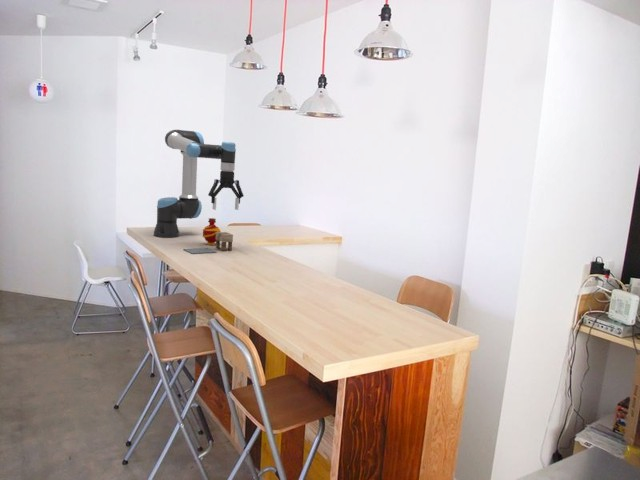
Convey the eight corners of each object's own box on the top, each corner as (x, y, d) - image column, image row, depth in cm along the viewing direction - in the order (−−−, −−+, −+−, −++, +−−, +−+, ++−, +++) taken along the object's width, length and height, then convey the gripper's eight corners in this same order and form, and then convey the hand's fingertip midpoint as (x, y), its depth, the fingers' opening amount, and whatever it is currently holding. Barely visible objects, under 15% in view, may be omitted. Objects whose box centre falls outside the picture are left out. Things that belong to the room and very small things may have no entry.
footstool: (215, 248, 274) (215, 232, 272) (224, 247, 277) (225, 232, 276) (222, 251, 267) (223, 235, 265) (232, 250, 270) (233, 234, 269)
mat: (183, 250, 261) (183, 248, 261) (207, 248, 270) (207, 247, 270) (191, 254, 253) (191, 252, 253) (216, 252, 261) (216, 251, 261)
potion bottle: (210, 246, 277) (211, 220, 275) (198, 243, 283) (199, 217, 281) (224, 244, 285) (225, 219, 283) (212, 241, 292) (213, 217, 289)
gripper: (209, 170, 254) (207, 210, 258) (250, 172, 269) (248, 210, 273) (203, 169, 260) (201, 208, 264) (244, 171, 275) (242, 208, 279)
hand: (225, 209), depth 268 cm, fingers open, 13 cm apart
